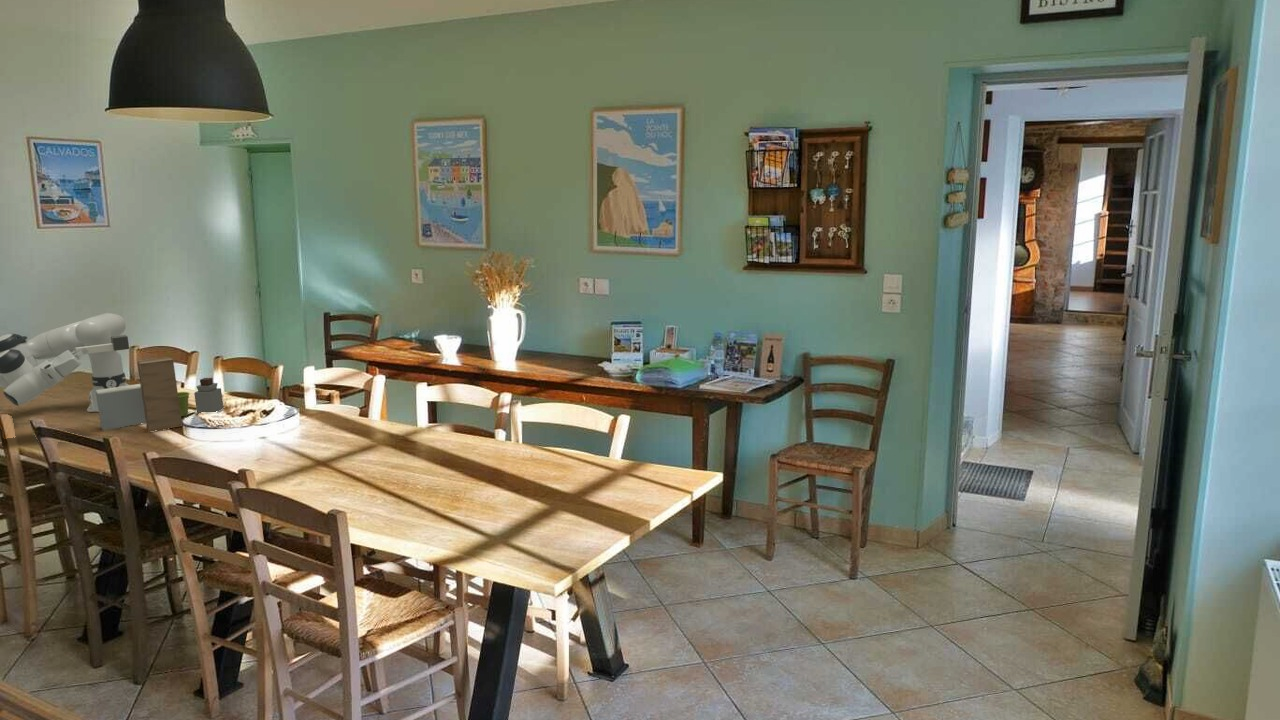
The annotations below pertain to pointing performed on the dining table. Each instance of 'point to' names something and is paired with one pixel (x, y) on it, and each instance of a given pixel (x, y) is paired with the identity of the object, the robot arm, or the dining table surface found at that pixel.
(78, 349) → the mallet
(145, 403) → the walnut stand
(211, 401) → the perfume bottle
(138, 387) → the notepad block
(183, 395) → the plant pot
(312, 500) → the dining table surface
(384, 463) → the dining table surface
